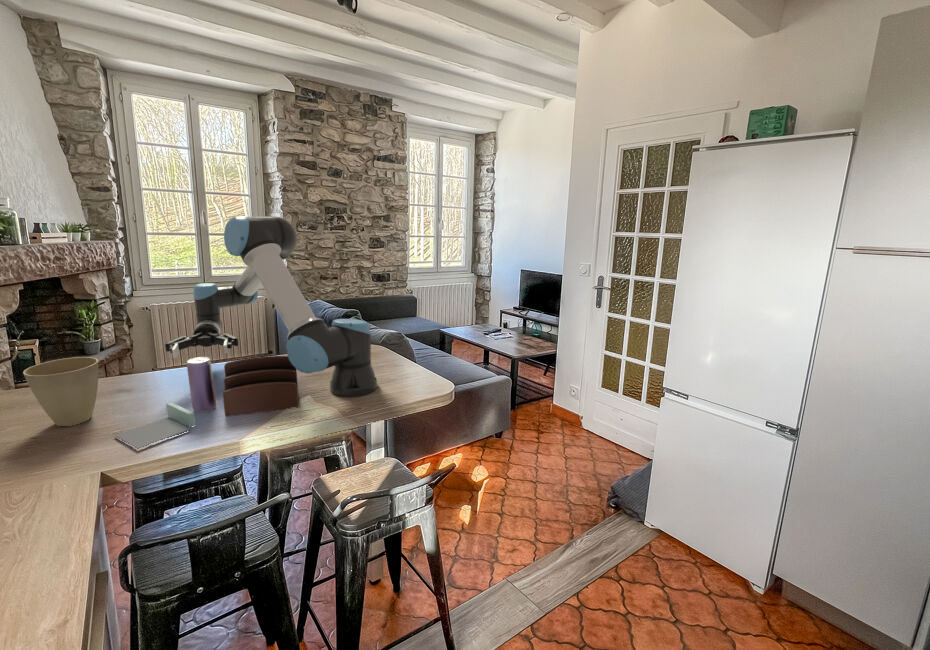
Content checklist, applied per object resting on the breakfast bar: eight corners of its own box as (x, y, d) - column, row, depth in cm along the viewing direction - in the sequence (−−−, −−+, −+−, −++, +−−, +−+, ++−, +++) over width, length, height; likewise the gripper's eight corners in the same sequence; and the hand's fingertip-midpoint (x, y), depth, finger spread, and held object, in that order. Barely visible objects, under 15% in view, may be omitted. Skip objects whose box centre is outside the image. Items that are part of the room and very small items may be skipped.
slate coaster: (189, 431, 118) (189, 429, 118) (137, 451, 108) (137, 448, 108) (166, 420, 124) (165, 417, 124) (115, 437, 114) (114, 435, 114)
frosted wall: (195, 426, 121) (193, 412, 120) (191, 427, 120) (189, 414, 119) (172, 415, 127) (170, 402, 126) (167, 416, 126) (165, 403, 125)
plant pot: (100, 404, 133) (90, 353, 129) (114, 419, 124) (104, 365, 120) (31, 421, 122) (18, 366, 118) (42, 439, 113) (28, 379, 109)
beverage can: (206, 413, 128) (200, 364, 125) (188, 412, 129) (181, 362, 126) (220, 405, 134) (215, 357, 131) (202, 403, 135) (196, 356, 131)
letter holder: (228, 403, 136) (223, 359, 133) (298, 395, 143) (295, 353, 140) (224, 417, 127) (219, 370, 124) (299, 408, 134) (296, 363, 131)
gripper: (247, 340, 162) (246, 359, 143) (165, 347, 152) (153, 367, 133) (245, 320, 160) (244, 336, 141) (162, 325, 150) (149, 343, 131)
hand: (200, 351), depth 137 cm, fingers open, 13 cm apart
